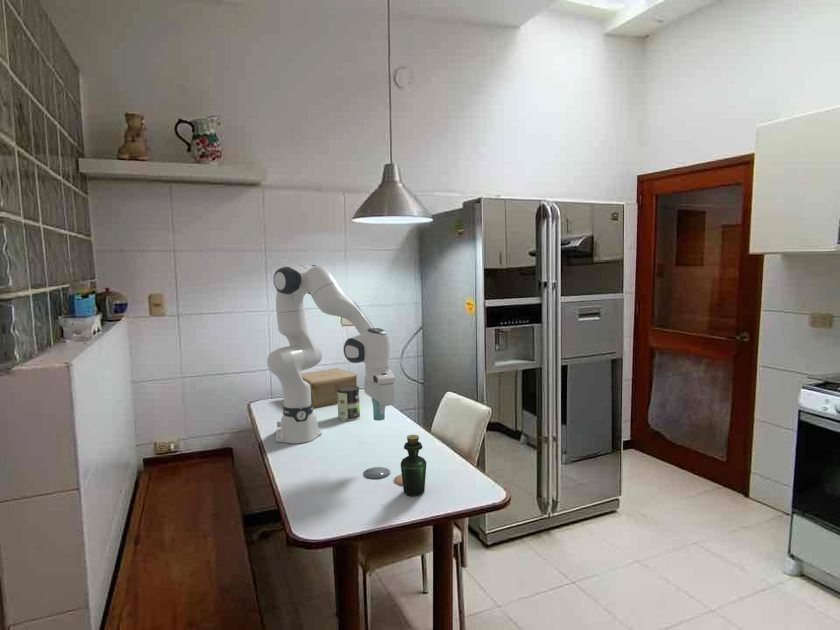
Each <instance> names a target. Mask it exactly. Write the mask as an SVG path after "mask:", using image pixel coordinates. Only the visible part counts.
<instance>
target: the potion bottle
mask: <svg viewBox="0 0 840 630" xmlns="http://www.w3.org/2000/svg"><path fill="white" fill-rule="evenodd" d="M419 438H420V436H419V435H417V434H409V435H407V436H406V440H407V442H406V441H405V443H404V446H403V449H404V450H406V451H407V456H406V457H404V458H402V460H401V462H400V470H401V473H400V474H402V481H403V486H402V488H403V489H402V490H403V493H404V494H405V496H408V497H419V496H422V495H423V494H424V493H425V489H426V486H425V485H426V476H427V475H426V474H427V461H426V459H425V458H424V457H422V456H420V455H419V451H420V450H422V449H423V445H422V443H421V442H420V441H419V440H420V439H419Z"/></svg>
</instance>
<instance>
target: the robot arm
mask: <svg viewBox="0 0 840 630" xmlns="http://www.w3.org/2000/svg"><path fill="white" fill-rule="evenodd" d="M273 286H274V287H275V289H276V292H275V293H276V295H275V312H276V319H277V327H278V328H277V330H278V332H279V333H280V334H281V335H282V336H283V337H286V339H287V341H288V343H289V345H287V346H283V347H279V348H277V349H275V350H272V352H270V353H269V354H268V356H267V360H266V363H267V368H268V370H269V371H270V372H271V373H272V374H273V375H274V376H275V377H277V379H278V381H279V383H280V384H281V388H282V395H283V405H282V416H281V418H280V421H277V422H276V427H277V428H276V429H275V442H276V443H285V444H303V443H308V442H311V441H314V440H315V439H317V437H319V436H321V435H322V434H323V433H322V430H320V429H319V425H318V419H317V415H316V414H314V413H313V412H314V408H313V405H312V403H311V387H310V384H309V383H308V382H306V381H304V380H303V379H302V376H301V373H302V371H305V370H308V369H312V368H313V367H315V366H316V365H318V364H319V363H320V362H321V361H322V358H323V353H322V349H321V347H320V346H319V345H318V344H317V343H316V342H315V341H313V339H312V338H311V336H310V333H309V331H308V327H307V322H306V313H305V311H306V310H305V305H304V297H305V296H306V294H308V295H310V297H311V298H312V300H313V302H314V303H315V305H316V307H317V308H318V309H319V310H320V311H321V312H322V313H323V314H326V315H329V316H335V317H338V318H339V317H340V318H343V319H345V320H347V321H349V322H350V323H351V324H352V325H353V326H354V328H355V329H356V330H357V331H358V335H355V336H352V337H350V338H348V339H346V340H345V342H344V344H343V354H344V357H345V358H346V360H347V361H348V362H350V363H352V364H358V363H364V364H365V365H364V367H365V369H364V370H365V376H364V383H363V385H364V387H363V388H364V389H363V390H364V394H365V395H367V396H368V397H370V398H371V403H372V405H373V399H374V400H376V401H378V402H379V405H380V408H379V413H380V414H384V413H386V407H390V406H393V405H394V403H395V397H396V395H395V393H396V392H395V389H396V388H395V384H394V383H396V376H395V374H394V373H393V371H392V370H391V363H390V354H391V348H390V347H391V346H390V344H391V343H390V337H389V333H388V331H386V330H385V329H383V328H380V327H379V328H378V327H376V326H375V325H374V324H373V323H372V321H371V320H370V319H369V317H368V316H367V315H366V314H365V311H363V310H362V309H361V307H360V306H359V305H358V304H357V303H356V301H354V300H352V298H350V297H349V296H348V295H347V293H345V292H344V291H343V289H342V288H341V286H340V284H339V283H338V281H337V280H336V278H335V277H334V276H333V274H332V273H331V272H330V271H329V270H328V268H327V267H325V266H323V265H316V264H312V265H311V264H310V265H308V264H307V265H306V264H304V265H303V264H299V265H290V266H284V267H283V266H282V267H280V268H278V269H277V270H276V271H275V273H274V275H273Z"/></svg>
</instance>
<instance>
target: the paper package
mask: <svg viewBox="0 0 840 630" xmlns="http://www.w3.org/2000/svg"><path fill="white" fill-rule="evenodd" d="M301 376H302V379H303V380H304V381H306V382H308V383H309V384H310V387H311V403H312V405H313V409H314V408H319V407H325V406H326V407H327V406H332V405H335V404H337V405H338V400H337V388H338V387H342V386H358V384H357V383H358V381H357V380H358V379H357V378H358V377H357V376H358V374H356V373H353V372H350V371H348V370H344V369H342V368H338V367H336V368H331V369H322V370H317V371H316V370H315V371H309V372H301Z"/></svg>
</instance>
